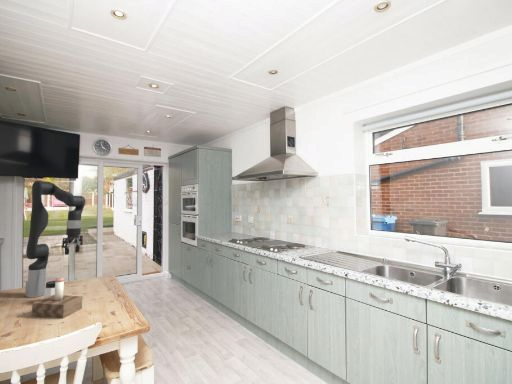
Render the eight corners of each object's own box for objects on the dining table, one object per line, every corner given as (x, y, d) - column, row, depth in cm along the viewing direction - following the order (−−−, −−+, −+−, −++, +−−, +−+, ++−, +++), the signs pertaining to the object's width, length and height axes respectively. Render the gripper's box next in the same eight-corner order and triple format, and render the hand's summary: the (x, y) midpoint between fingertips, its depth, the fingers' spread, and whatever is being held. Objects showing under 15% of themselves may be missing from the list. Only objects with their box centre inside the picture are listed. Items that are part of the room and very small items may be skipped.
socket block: (31, 316, 146) (32, 303, 147) (52, 306, 160) (53, 294, 161) (63, 318, 145) (63, 304, 145) (81, 308, 159) (82, 296, 159)
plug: (52, 303, 151) (53, 279, 152) (57, 300, 155) (59, 277, 156) (58, 303, 151) (60, 279, 152) (64, 301, 155) (66, 277, 155)
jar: (58, 303, 166) (59, 283, 167) (42, 304, 163) (43, 284, 164) (62, 298, 174) (64, 279, 175) (47, 299, 172) (49, 280, 172)
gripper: (76, 226, 179) (74, 251, 178) (59, 228, 165) (57, 255, 164) (87, 226, 178) (85, 251, 177) (70, 228, 164) (68, 255, 163)
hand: (72, 253), depth 170 cm, fingers open, 8 cm apart
